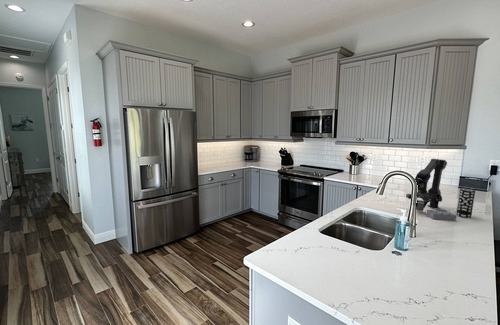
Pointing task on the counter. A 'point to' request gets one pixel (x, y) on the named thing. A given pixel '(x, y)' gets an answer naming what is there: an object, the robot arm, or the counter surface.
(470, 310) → the counter surface
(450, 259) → the counter surface
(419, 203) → the lens
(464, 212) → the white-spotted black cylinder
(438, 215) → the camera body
